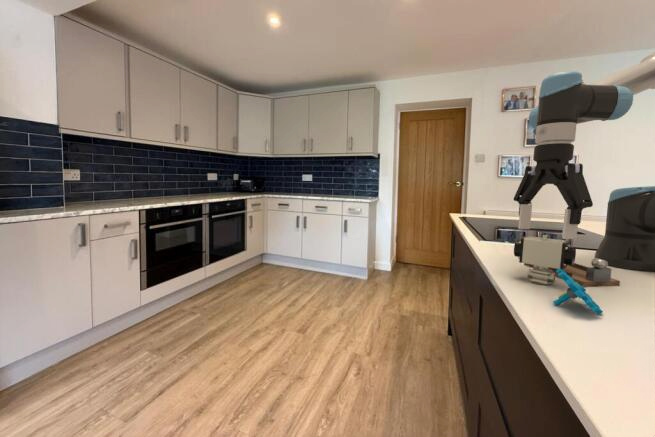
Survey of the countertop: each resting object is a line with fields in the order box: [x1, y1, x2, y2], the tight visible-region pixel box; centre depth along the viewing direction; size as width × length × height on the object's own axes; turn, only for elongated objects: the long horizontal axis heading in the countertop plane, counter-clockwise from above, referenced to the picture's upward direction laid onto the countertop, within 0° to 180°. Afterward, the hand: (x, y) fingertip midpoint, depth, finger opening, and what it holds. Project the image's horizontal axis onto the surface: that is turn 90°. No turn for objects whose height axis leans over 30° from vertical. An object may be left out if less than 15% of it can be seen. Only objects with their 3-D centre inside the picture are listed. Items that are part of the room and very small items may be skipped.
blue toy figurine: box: [552, 269, 604, 316], centre depth 60 cm, size 11×6×10 cm
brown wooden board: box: [523, 262, 621, 288], centre depth 81 cm, size 10×19×2 cm, turn 5°
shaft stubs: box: [586, 257, 613, 282], centre depth 81 cm, size 4×19×5 cm, turn 5°
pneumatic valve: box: [513, 234, 577, 286], centre depth 74 cm, size 6×12×12 cm, turn 44°
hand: (544, 233), depth 74 cm, fingers open, 13 cm apart
